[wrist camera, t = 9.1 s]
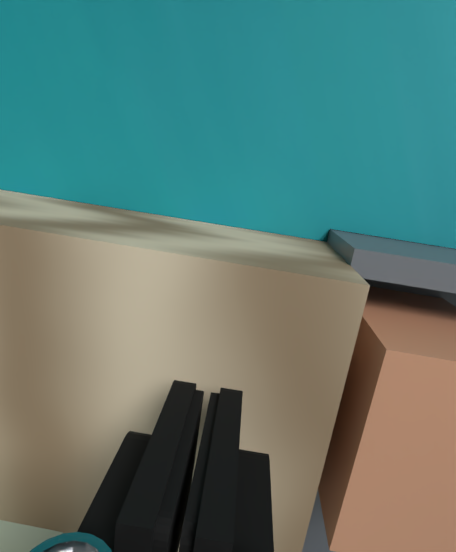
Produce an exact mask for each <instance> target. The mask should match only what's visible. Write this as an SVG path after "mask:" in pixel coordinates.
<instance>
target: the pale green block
mask: <svg viewBox="0 0 456 552" xmlns="http://www.w3.org/2000/svg"><path fill="white" fill-rule="evenodd" d="M60 534H63V532H59V531H54V530H49V529H44V528H39V527H34V526H29V525H23V524H18V523H13V522H8V521H3V520H0V552H30V551H31V550H32V549H33V548H34V547H36V546H37V545H39V544H41V543H42V542H44V541H45V540H47V539H49V538H52V537H55V536H57V535H60Z"/></svg>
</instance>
